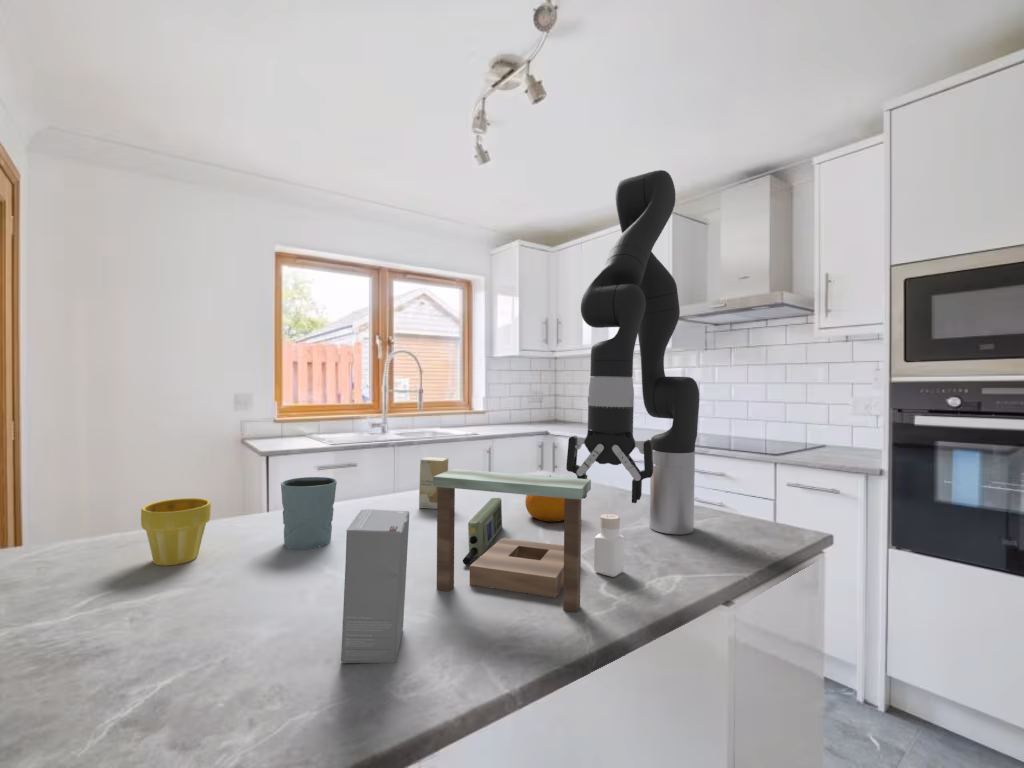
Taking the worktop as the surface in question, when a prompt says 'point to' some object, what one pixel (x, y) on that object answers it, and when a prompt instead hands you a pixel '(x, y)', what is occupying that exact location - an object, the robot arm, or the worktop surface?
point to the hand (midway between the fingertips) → (608, 499)
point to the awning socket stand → (515, 559)
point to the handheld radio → (484, 528)
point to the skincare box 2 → (430, 480)
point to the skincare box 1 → (374, 586)
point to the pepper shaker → (609, 547)
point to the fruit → (545, 507)
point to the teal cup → (308, 511)
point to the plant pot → (175, 528)
